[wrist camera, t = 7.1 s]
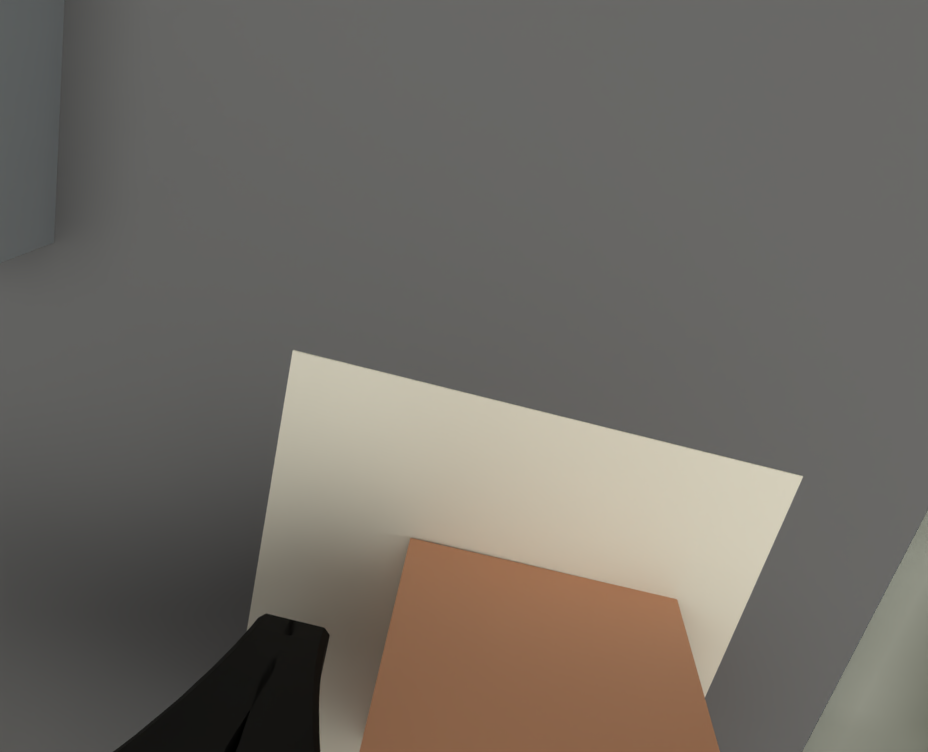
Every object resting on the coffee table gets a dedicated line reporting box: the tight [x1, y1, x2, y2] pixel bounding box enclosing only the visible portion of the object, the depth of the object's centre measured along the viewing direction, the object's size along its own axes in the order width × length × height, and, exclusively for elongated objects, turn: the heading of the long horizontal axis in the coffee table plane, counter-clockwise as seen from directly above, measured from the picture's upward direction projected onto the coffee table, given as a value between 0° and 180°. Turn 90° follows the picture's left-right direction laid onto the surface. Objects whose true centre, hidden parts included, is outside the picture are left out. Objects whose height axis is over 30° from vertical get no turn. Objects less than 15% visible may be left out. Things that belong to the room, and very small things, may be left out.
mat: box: [0, 0, 928, 752], centre depth 14 cm, size 24×22×1 cm
